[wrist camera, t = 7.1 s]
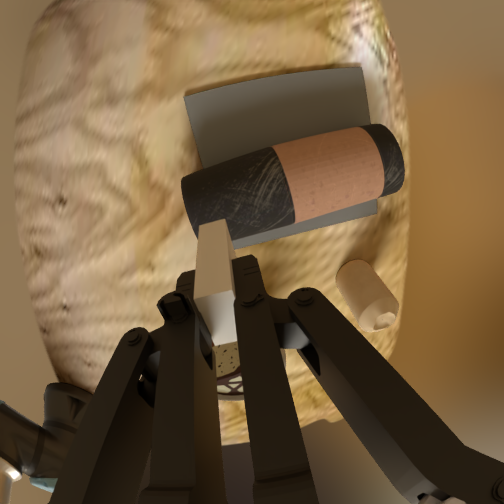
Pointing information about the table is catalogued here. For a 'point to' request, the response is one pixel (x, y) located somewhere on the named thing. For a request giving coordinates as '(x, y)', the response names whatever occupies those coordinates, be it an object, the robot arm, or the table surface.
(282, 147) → the travel mug
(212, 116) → the mat
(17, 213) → the table surface
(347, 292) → the candle
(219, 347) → the food container
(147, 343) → the robot arm
